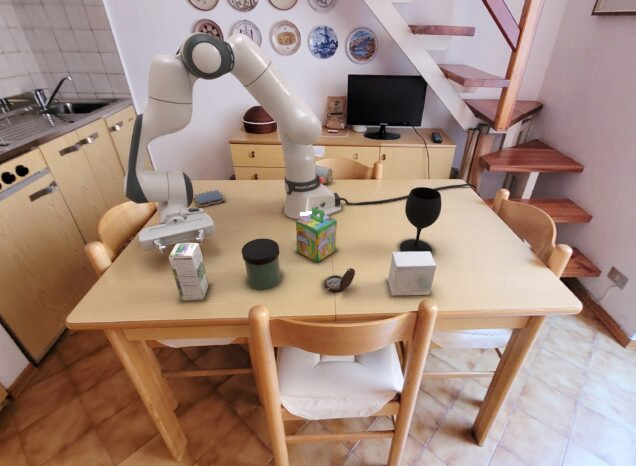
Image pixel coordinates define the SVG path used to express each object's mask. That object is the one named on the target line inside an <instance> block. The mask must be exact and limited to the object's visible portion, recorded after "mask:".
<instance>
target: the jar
mask: <svg viewBox="0 0 636 466" xmlns="http://www.w3.org/2000/svg"><path fill="white" fill-rule="evenodd" d="M244 265H245V271H246V275H247V281H248V284H249V286H250V287H251V288H253V289H256V290H269V289H271V288H273V287H275V286H276V285H278V284H279V282H280V281H281V268H280V259H279V256H278V257H277V258H276V259H275V260H274V261H272V262H270V263H268V264H264V265H252V264H249V263H247V262H245V261H244Z"/></svg>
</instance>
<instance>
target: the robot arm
mask: <svg viewBox="0 0 636 466" xmlns="http://www.w3.org/2000/svg"><path fill="white" fill-rule="evenodd" d="M148 71H149V72H148V81H147V97H148V98H147V99H148V100H147V105H146V107H145V109H144V111H143V112H142V113H140V114H137V116H136V117H135V120H134V123H133V129H132V134H131V139H130V147H129V154H128V160H127V164H128V165H127V169H126V173H125V176H124V178H123V184H122V186H123V187H122V188H123V193H124V195H125V197H126V198H127V199H128V200H129V201H131V202H133V203H134V204H137V205H141V204H150V203H157V206H156V207H157V208H156V209H157V211H156V212H157V216H158V221H159V222H158V223H159V224H156V225H152V226H147V227H144V228H143V229H141V230H140V231H139V232H137V238H138V242H139V246H140V248H141V250H143V251H151V250H154V249H156V250H159V251H160V253H161V254H163V253H166V252H168V248H167V246H170V245H176V244H178V243H185V242H188V241H192V240H196V243H198V244H199V245H200V244H203V243H204V239H205V238H206V237H209V236H213V235H215V234H216V233H217V229H216V224H215V222H214V220H213V218H212V217H211V216H210V214H208V213H206V212H205V209H204V208H203V207H199V208H189V207H190V206H192V203H193V201H194V187H193V183H192V180H191V178H190V176H189V175H188V174H186V172H184V171H181V170H180V171H179V170H178V171H177V170H147V169H145V163H146V156H147V150H148V146H149V144H150V143H151V142H152V141H153V140H155V139H158V138H160V137H165V136H167V135H171V134H174V133H178V132H180V131H182V130H184V129H185V128H186V127H188V125H189V124H190V123H191V121H192V116H193V108H194V107H193V104H194V103H193V94H194V93H193V92H194V91H193V90H194V85H195V83H196V81H198V80H199V79H201V80H205V81H212V80H216V79H218V78H221V77H222V76H225V75H227V74H229V73H230V74H231V75H233V77H234V78H235V79H237V80H238V81H239V83H240V84H241V85H242V86H243V87H244V88H245V90H246V91H247V92H248V93H249V94H250V96H252V97H253V98H254V100H255V101H256V102H257V103H258V104H259V106H261V107H262V109H263V110H264V111H265V112H266V113H267V114H268V115H269V116H270V117H271V119H273V121H274V122H275V123H276V124H277V127H278V133H279V139H280V144H281V149H282V154H283V162H284V174H285V175H284V190H285V203H284V209H283V213H284V215H285V216H286V217H289V218H290V219H294V220H299V219H301V218H303V217H305V216H307V215H309V214H311V212H312V208H313V207H314V208H316V209H319V210H322V211H324V214H325V215H327V216H330V215H332V214H335V213H338V212H340V211H342V205H341V201H344V203H345V204H346V205H348V206H362V205H371V204H380V203H389V202H395V201H398V200H403V199H404V200H405V199H407V198H408V195H409V194H407V195H403V196H399V197H394V198H388V199H380V200H370V201H361V202H349V201H348V199H347V198H344V197H340V195H339V193H338V192H333V191H332V190H331V189H330V188H329V187H327V185H324V184H326V183H325V181H326V180H325V179H324V178H323V177H320V176H319V175H317V174H316V165H317V164H316V153H315V150H314V147H313V145H314V144H316V143H317V142H318V141H319V140H320V138H321V137H322V133H323V125H322V123H321V121H320V119H319V117H318V116H317V114H316V113H315V112H314V111H313V110H312V108H311V107H310V106H309V105H308V103H307V102H306V101H305V100H304V98H302V96H301V95H300V94H299V93H298V92H297V91H296V90H295V89H294V88H293V87H292V85H291V84H290V83H289V82H288V80H287V79H286V78H285V76H284V75H283V74H282V73H281V72H280V70H279V69H278V67H276V65H275V64H274V63H273V62H272V60H271V59H270V58H269V56H268V55H267V54H266V52H265V51H264V50H262V48H261V47H260V46H259V45H258V44H257V43H256V42H255V41H253V39H252V38H251V37H249V35H247V34H245V33H234V34H233V35H231V36H229V37H228V38H227V39H226V40H222V39H221V38H218V37H216V36H214V35H212V34H209V33H206V32H199V31H196V32H193V33H190V34H188V35H187V36H186V37H185V38H184V39H183V41H182V43H181V45H180V47H179V48H178V50H177V51H176V53H175V54H169V53H161V54H157V55H155V56H154V57H153V58H152V59H151V61H150V65H149V70H148ZM320 182H321V183H320ZM462 187H472V188H473V189H476V188H477V186H476V185H475V184H473V183H462V184H452V185H446V186H440V187H439V186H438V187H435V188H433V189H435V190H437V191H438V190H445V189H450V188H462Z"/></svg>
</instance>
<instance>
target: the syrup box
mask: <svg viewBox="0 0 636 466" xmlns="http://www.w3.org/2000/svg"><path fill="white" fill-rule="evenodd" d="M174 245H175V246H174V247H173V248H172V250H171V252H170V254H169V255H168V260H169V264H170V268H171V271H172V274H173V278H174V280H175V283H176V287H177V290H178V293H179V294H178V295H179V297H180V300H181V301H182V302H183V301H200V300H201V301H202V300H204V299H205V297H206V294H207V291H208V289H209V286H210V284H209V280H208V276H207V272H206V266H205V263H204V259H203V255H202V250H201V246H200V243H199V244H198V243H197V242H180V243H175V244H174Z"/></svg>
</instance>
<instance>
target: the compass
mask: <svg viewBox="0 0 636 466" xmlns="http://www.w3.org/2000/svg"><path fill="white" fill-rule="evenodd" d="M355 275H356V270H355V269H354V268H352V267H350V268H346V271H345V273H344V274H343V276H341V275H336V274H335V275H330V276H328V277H326V278H325V280H324V287H325V288H324V289H323V291H324V293H326V294H328V293H331V292H333V293H334V292H341V291H345V290H346V289H348V288H349V287H350V285H351V284H352V283H353V280H354V278H355ZM325 290H327V292H326V291H325Z"/></svg>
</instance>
